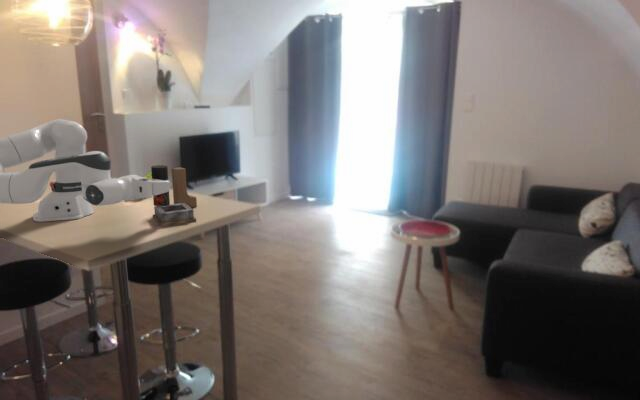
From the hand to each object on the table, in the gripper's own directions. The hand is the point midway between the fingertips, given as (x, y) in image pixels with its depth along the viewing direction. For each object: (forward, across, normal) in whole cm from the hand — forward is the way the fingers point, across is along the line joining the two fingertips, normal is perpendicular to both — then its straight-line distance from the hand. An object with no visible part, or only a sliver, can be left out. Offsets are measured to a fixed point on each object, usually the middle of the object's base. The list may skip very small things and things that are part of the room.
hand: (162, 180), depth 182 cm
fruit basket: (+26, -42, -17) cm, 53 cm away
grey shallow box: (+6, -1, -17) cm, 18 cm away
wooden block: (+22, -11, -17) cm, 30 cm away
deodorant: (-1, 0, -10) cm, 10 cm away
